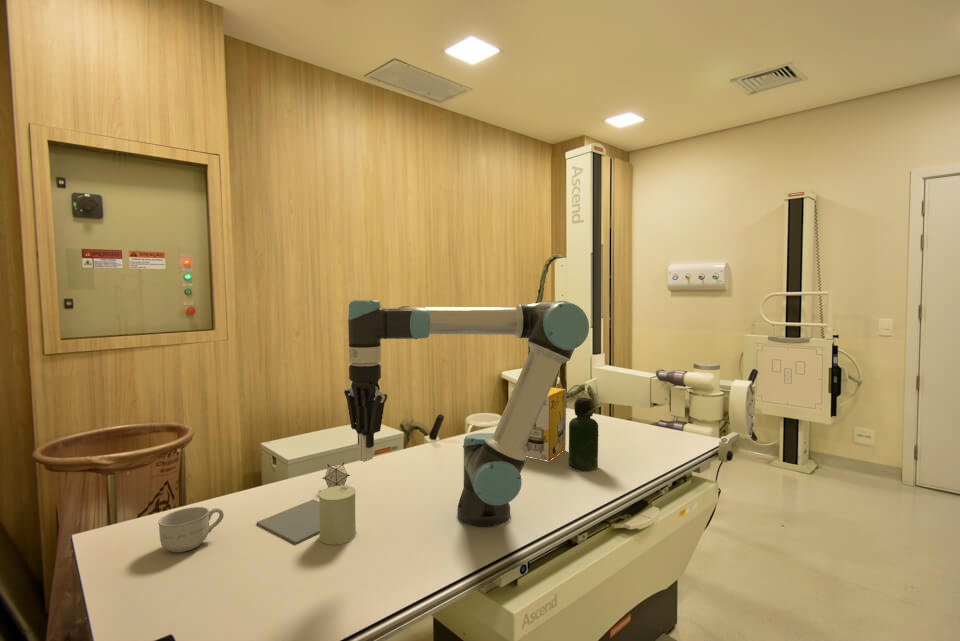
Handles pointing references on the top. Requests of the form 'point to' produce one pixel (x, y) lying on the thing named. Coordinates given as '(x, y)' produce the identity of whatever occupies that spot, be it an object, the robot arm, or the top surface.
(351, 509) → the can
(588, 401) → the green bottle
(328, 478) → the game die
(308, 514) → the mat
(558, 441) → the packaging box
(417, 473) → the top surface
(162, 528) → the teacup
